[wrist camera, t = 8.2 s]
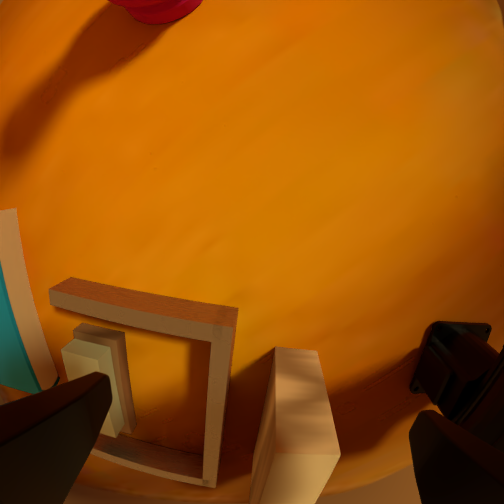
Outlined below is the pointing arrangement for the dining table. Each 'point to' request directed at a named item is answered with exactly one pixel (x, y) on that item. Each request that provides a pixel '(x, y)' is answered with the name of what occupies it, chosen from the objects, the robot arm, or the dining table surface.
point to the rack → (175, 323)
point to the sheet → (294, 433)
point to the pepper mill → (158, 9)
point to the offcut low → (119, 365)
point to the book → (20, 319)
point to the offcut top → (90, 360)
